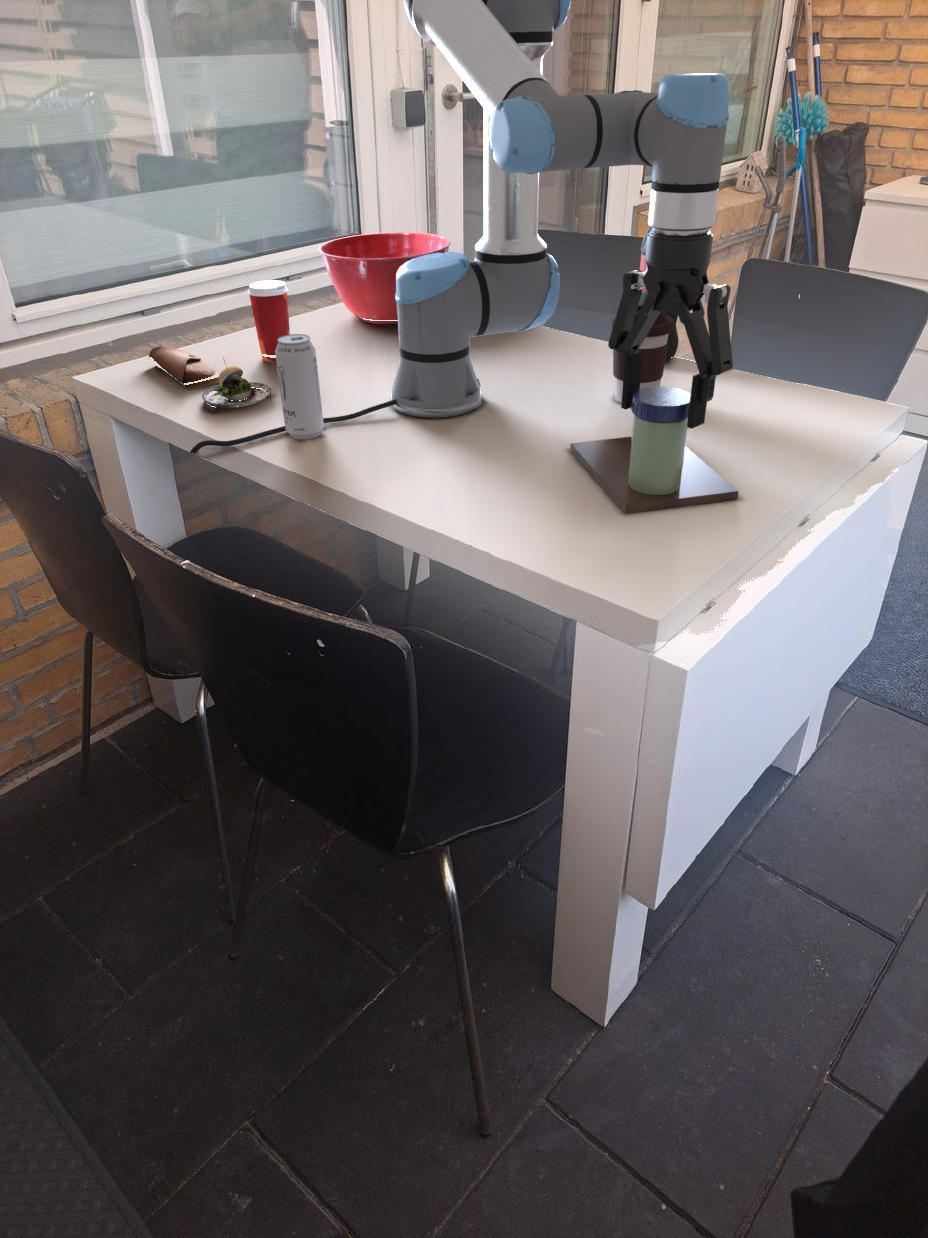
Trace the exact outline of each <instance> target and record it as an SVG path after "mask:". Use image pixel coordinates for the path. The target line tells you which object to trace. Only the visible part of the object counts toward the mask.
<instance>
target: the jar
mask: <svg viewBox="0 0 928 1238" xmlns="http://www.w3.org/2000/svg"><path fill="white" fill-rule="evenodd" d="M687 422H688V418H687V419H684V420H681V421H676V422H654V421H648V420H645V419H641V418H639V417H637V416H635V415H634V414H633V419H632V428H631V437H632V439H631V451H630V462H629V473H628V485H629V487H630V488H631V489H633V490H635V491H637V492H639V493H643V494H648V495H666V494H671V493H674V492H676V491H677V490H678V489H679V488H680V484H681V476H682V468H683V460H684V451H685V446H686V443H687V434H688V427H687Z"/></svg>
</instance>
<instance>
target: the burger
mask: <svg viewBox="0 0 928 1238" xmlns="http://www.w3.org/2000/svg"><path fill="white" fill-rule="evenodd" d="M222 358H223V361H224V364H225V367H224V368H223V369H222V370H221V372H220V373H219V374H220V375H219V383H218V384H217V385H215V386H211V387H210V388H207V390H204V391H203V393H202V394H201V399H202V400H203V401H202V407H203V408H204V409H205V410H207V411H210V412H212V413H216V412H217V408H218V407H220V406H223V407H222V408H233V409H235V408H242V407H243V408H244V407H246V406H251V405H254V404H257V403H258V404H259V403H260V402H261V401H263V400H265V399H266V397H272V394H273V389H272V387H270V386H268V385H267V384H265V383H260V382H255V381H253V382H252V381H250V382H249V381H248V380H247V379H246V378H243V377H242V376H243V374H244V370H242V368H241V367H239V366H235V365H230V366H229V365H228V366H227V364H226V360H225V358H224V356H222ZM251 387H255V388H251ZM256 388H262V389H263V390H265V391H266V392H267V394H266V392H265V391H263V390H261V389H256ZM212 391H217V393H215V394H213V395H212V396H211V397H209V401H207V400H206V398H207V395H208V394H209V393H210V392H212ZM226 398H227V399H228V400H227V399H226ZM246 398H247V399H246ZM244 399H245V400H244ZM231 400H233V401H231ZM239 400H241V401H239ZM258 401H259V402H258ZM207 403H208V404H209V405H208V404H207ZM210 405H211V406H215V407H217V408H215V407H211V406H210ZM237 406H238V407H237Z"/></svg>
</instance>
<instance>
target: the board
mask: <svg viewBox="0 0 928 1238" xmlns="http://www.w3.org/2000/svg"><path fill="white" fill-rule="evenodd" d="M631 439H632V436H623V437H615V438H606V439H597V440H588V441H579V442H571V443H570V445H569V451H570V452H571V453H572V454H573V456H574V457H575V458H576V459H577V460H578V462H579V463H581V465H582V466H583V467H584V468H585V469H586V470H587V472H588V473H589V474H590V475H591V476H592V477H593V478H594V480H595V481H596V482H597V483H598V484H599V486H601V488H603V490H604V491H605V493H607V495H609V497H610V498H611V499H612V500H613V501H614V503H616V505H617V506H618V507H619V508H620V509H621V510H622V511H623V513H624V514H634V513H640V512H649V511H656V510H663V509H664V510H665V509H672V508H680V507H688V506H696V505H704V504H711V503H718V502H719V503H720V502H724V501H725V502H727V501H735V500H739V494H740V493H739V492H740V491H739V490H738V489H737V488H735V486H733V484H731V483H730V482H728V480H726V479H725V478H724V477H723V476H722V475H720V474H719V473H718V472H717V471H716V470H715V469H713V468H712V467H711V466H710V465H709V464H707V463H706V462H705V460H703V459H702V458H700V457H699V456H698V455H697V454H696V453H695V452H694V451H692V450H691V449H690V448H689V447H687V445H685V451H684V460H683V468H682V476H681V484H680V488H679V489H678V490H677V491H676V492H674V493H671V494H666V495H648V494H643V493H639V492H637V491H635V490H633V489H631V488H630V487H629V485H628V473H629V462H630V451H631Z"/></svg>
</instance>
